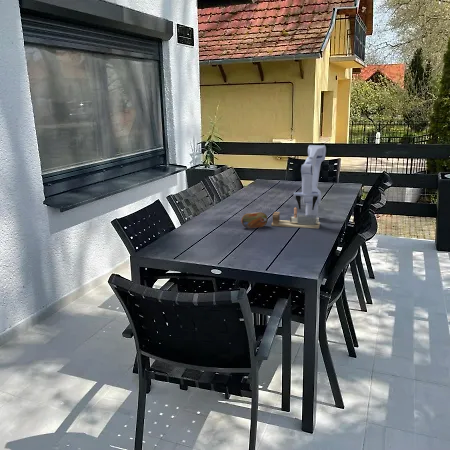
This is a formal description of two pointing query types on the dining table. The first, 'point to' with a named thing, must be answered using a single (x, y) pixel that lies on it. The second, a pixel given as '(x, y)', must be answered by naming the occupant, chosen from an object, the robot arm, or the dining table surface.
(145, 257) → the dining table surface
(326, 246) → the dining table surface
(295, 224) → the base board
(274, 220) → the socket block
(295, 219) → the white bar
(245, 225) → the tin
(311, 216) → the grey rectangular sleeve
